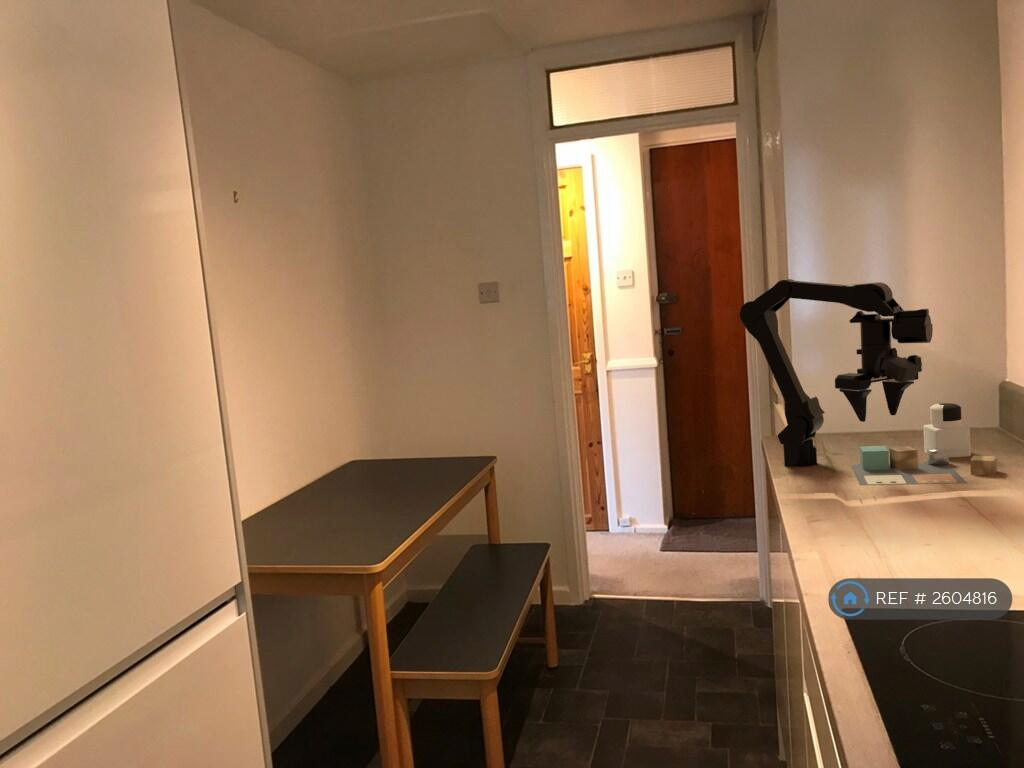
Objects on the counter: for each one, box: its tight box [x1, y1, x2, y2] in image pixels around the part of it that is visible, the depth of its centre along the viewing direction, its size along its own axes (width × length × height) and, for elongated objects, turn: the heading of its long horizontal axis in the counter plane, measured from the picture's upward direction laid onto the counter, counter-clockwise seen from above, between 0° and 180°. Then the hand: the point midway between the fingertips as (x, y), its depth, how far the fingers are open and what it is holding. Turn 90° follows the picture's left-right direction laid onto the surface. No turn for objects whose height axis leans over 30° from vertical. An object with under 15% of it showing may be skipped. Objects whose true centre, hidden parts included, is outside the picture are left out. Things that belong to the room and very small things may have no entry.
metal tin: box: [926, 448, 950, 466], centre depth 175 cm, size 4×4×3 cm
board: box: [850, 461, 968, 486], centre depth 170 cm, size 19×18×1 cm
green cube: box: [859, 445, 890, 470], centre depth 177 cm, size 5×5×4 cm
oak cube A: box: [888, 445, 919, 471], centre depth 174 cm, size 4×4×4 cm
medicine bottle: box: [922, 402, 972, 459], centre depth 183 cm, size 7×7×12 cm
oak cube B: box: [970, 455, 998, 477], centre depth 165 cm, size 4×4×4 cm
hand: (878, 418), depth 174 cm, fingers open, 9 cm apart
